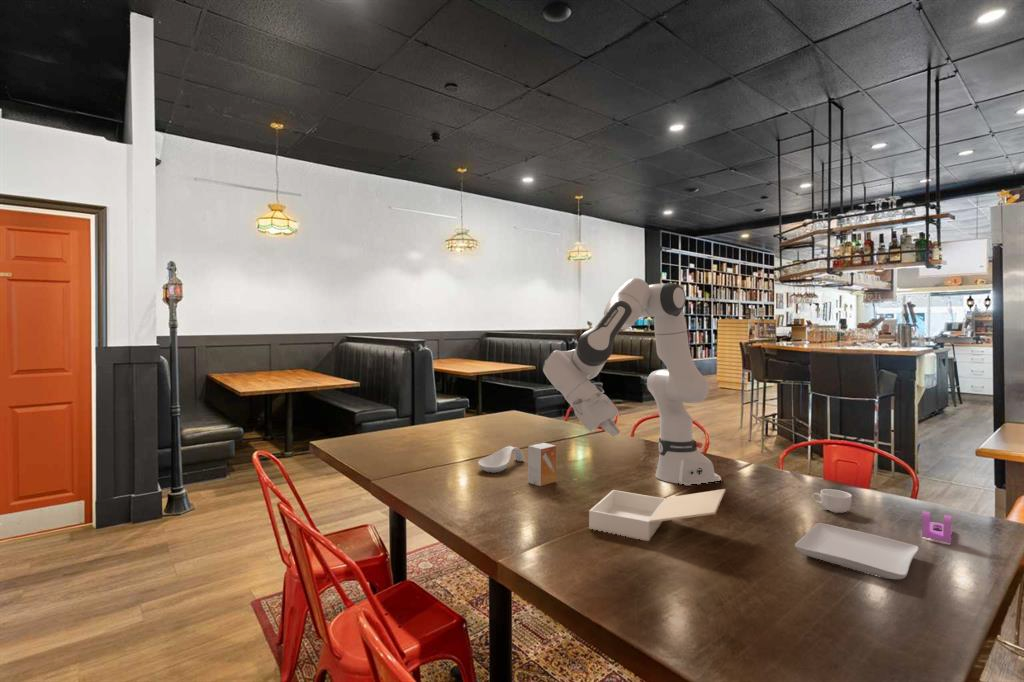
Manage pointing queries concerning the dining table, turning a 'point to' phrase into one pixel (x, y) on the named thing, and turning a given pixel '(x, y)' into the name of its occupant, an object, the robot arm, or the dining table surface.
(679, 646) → the dining table surface
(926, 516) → the bracket
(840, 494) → the teacup
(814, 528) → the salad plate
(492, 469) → the spoon rest
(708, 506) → the mailer lid
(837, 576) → the dining table surface
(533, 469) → the small box
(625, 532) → the tray
